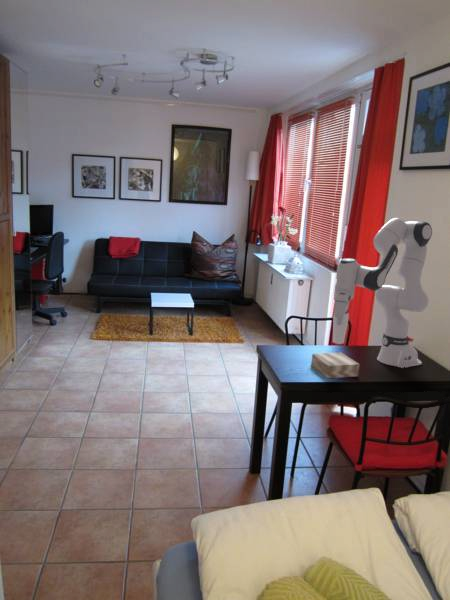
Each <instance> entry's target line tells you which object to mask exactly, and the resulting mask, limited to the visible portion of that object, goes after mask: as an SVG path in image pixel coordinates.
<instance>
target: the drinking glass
mask: <svg viewBox="0 0 450 600" xmlns="http://www.w3.org/2000/svg"><path fill="white" fill-rule="evenodd" d="M334 312H335V310H334V311H333V318H332V323H333V324H332V343H334V344H337V345H343V344H344V343H345V337H346V333H347V329H348V324H349V319H350V315H349V314H350V313H349V311H348V310H347V311H346V313H345V315H344V316H343V318H342V322H341V325H337V317H335V314H334Z"/></svg>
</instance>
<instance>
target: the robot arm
mask: <svg viewBox="0 0 450 600" xmlns="http://www.w3.org/2000/svg"><path fill="white" fill-rule="evenodd" d="M432 235H433V229H432V225H431V224H430V223H429V222H427V221H423V220H421V221H419V220H417V221H415V220H409V221H405V220H403V219H402V218H399V217H393V218H391V219H389V221H387V222H386V223H385V224H384V225H382V227H381V228H380V229H379V230H378V232H377V233H376V234H375V236H374V237H373V242H372V243H373V247H374V249H375V250H376V251H377V253H379V254H380V255H381V256H383V257H382V258H381V260H380V262H379V264H378V265H377V266H375V267H369V266H365V265H363V264H361V263H358V261H357V259H356V258H350V257H349V258H347V257H345V258H342V259H341V260H340V261H339V263H338V266H337V270H336V276H335V277H336V283H335V285H334V292H333V299H334V311H335V312H334V311H333V315H334V314H335V317H337V325H341V322H342V318H343V316H344V315H345V313H346V311H347V312H348V310H349V308H350V307H349V306H350V302H351V300H354V297H355V289H356V287H360V288H363V289H367V290H370V291H373V292H375V299H376V303H378V304H379V305H380V306H381V308H382V310H383V312H384V317H385V323H384V331H383V334H382V341H381V347H380V350H379V353H378V355H377V357H376V360H377V361H378V362H380V363H382V364H385V365H389V366H394V367H397V368H401V369H404V367H405V368H409V367H414V366H415V367H416V366H420V365H422V364H423V363H422V360H420V359H419V357H418V355H419V353H418V351H417V350H416V349H415V348H414V347H413V346H412V345H411V344H410V342H411V343H412V342H414V338H413V337H411V336H408V332H409V326H410V322H409V320H408V318H407V317H406V316H404V315H403V313H402V311H401V310H403V311H407V312H412V313H413V312H415V313H421V312H424V311H425V310H426V309H427V307H428V304H429V298H428V295H427V294H426V292H425V291H424V289H423V288H422V285H421V284H422V283H421V278H422V273H423V268H424V265H425V262H426V257H427V249H428V246H427V244H428V243H429V241H430V240H431V238H432ZM399 244H404V245H405V248H404V251H403V254H402V256H401V260H400V263H399V265H398V269H397V276H398V277H399V279H401V281H403V282H404V283H405V284H404V286H399V285H398V286H397V285H392V284H385V281H386V279H387V276H388V274H389V272H390V270H391V268H392V266H393V265H394V263H395V261H396V258H397V256H398V253H399V249H398V245H399Z"/></svg>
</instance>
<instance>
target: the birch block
mask: <svg viewBox="0 0 450 600" xmlns="http://www.w3.org/2000/svg"><path fill="white" fill-rule="evenodd" d="M310 365H311V367H312V368H313V369H315V370H317V371H318V372H319V374H321V375H323V376H324V377H326V378H327V379H339V378H348V377H349V378H350V377H353V378H354V377H358V376H359V371H360V363H359V362H357V361H355V360H354V359H352V358H350V357H349V356H347V355H346V354H344V353H343V352H340V351H339V352H325V353H324V352H323V353H322V352H321V353H312V355H311V364H310Z"/></svg>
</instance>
